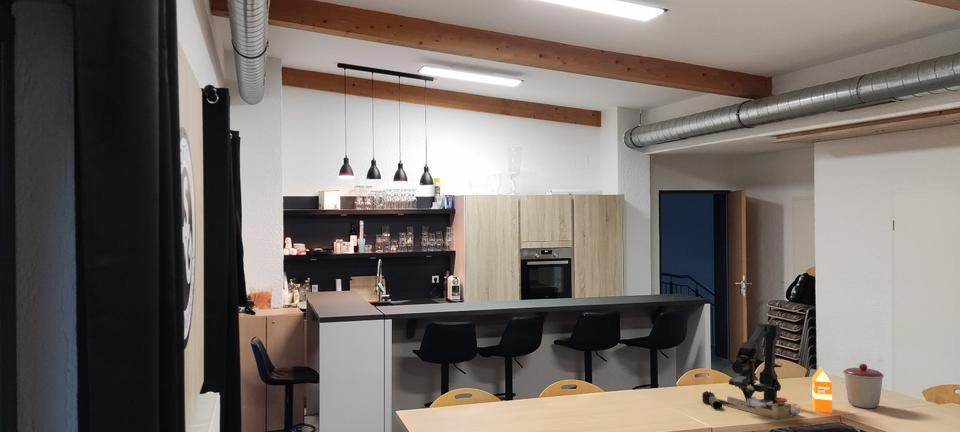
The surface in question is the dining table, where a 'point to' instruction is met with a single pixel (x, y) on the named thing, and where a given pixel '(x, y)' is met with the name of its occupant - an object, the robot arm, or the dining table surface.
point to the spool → (759, 403)
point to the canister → (863, 386)
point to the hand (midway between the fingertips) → (747, 402)
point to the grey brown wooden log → (711, 400)
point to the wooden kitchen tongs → (777, 411)
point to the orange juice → (821, 392)
